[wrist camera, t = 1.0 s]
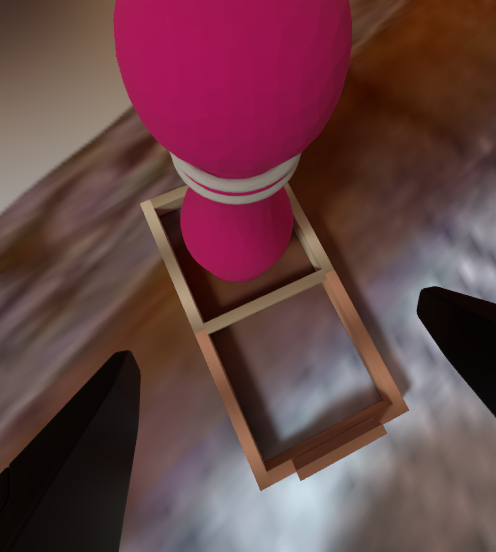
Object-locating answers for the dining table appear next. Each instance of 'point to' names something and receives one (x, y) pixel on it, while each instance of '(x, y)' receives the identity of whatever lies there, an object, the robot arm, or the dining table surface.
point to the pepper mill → (234, 110)
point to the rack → (333, 439)
